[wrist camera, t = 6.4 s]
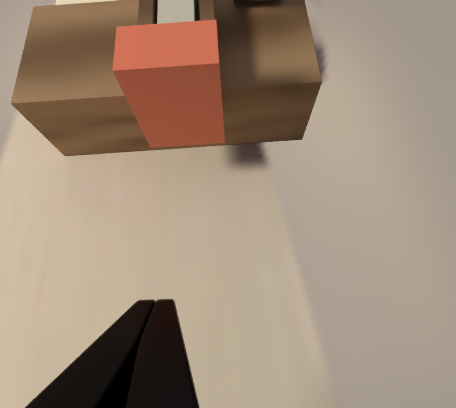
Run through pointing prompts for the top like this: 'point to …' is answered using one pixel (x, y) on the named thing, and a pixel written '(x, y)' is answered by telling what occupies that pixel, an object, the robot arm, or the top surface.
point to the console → (114, 97)
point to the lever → (252, 1)
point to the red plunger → (172, 76)
